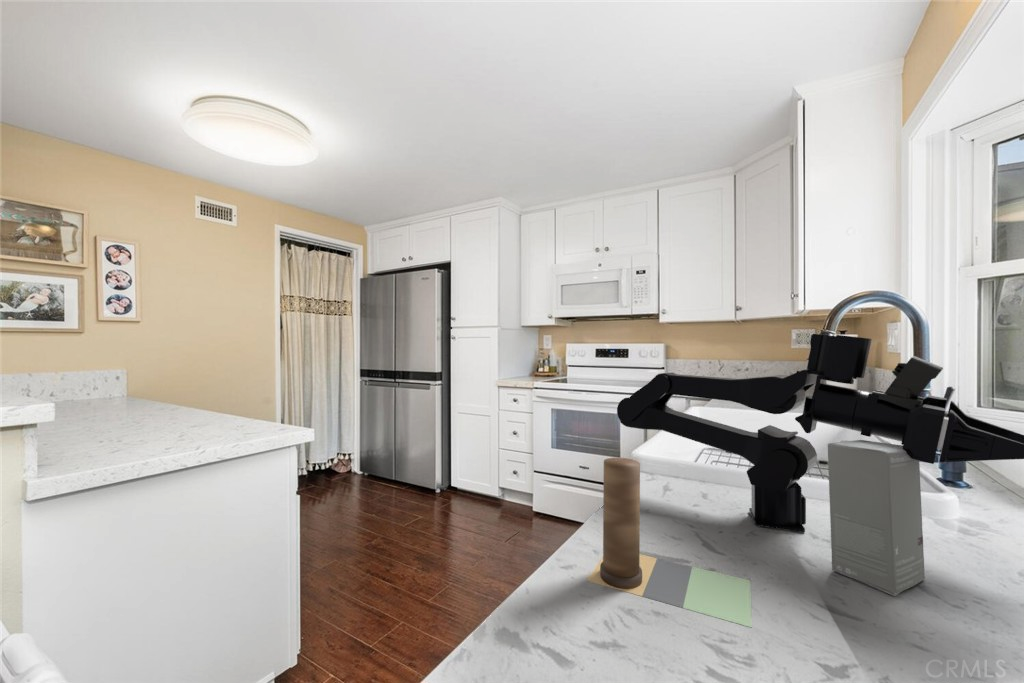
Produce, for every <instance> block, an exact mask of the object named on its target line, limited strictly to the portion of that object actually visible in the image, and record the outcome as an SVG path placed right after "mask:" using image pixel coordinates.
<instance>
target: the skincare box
mask: <svg viewBox="0 0 1024 683" xmlns="http://www.w3.org/2000/svg"><path fill="white" fill-rule="evenodd" d="M827 464H828V488H829V492H828V493H829V519H830V545H831V546H830V548H831V549H830V550H831V569H832V571H834V572H837V573H838V574H841V575H842V576H846V577H848V578H851V579H854V580H856V581H859V582H862V583H863V584H866V585H868V586H871V587H873V588H875V589H877V590H879V591H882V592H884V593H885V594H888V595H890V596H893V597H897V596H898V595H899V594H900V593H902V592H904V591H906V590H907V589H911V588H912V587H914V586H916V585H917V584H919V583H921V582H922V581H923V580H925V578H926V577H925V575H926V574H925V557H924V534H923V533H924V531H923V514H922V512H923V511H922V509H923V508H922V495H921V494H922V492H921V491H922V490H921V473H920V472H921V468H920V467H921V466H920V461H919V460H915V459H911V457H910V456H909V455H908V454H907V452H906V451H905V450H903V445H902V444H892V443H886V442H878V441H871V440H863V439H857V440H840V441H838V442H837V441H836V442H828V444H827Z"/></svg>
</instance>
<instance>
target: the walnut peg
mask: <svg viewBox="0 0 1024 683" xmlns="http://www.w3.org/2000/svg"><path fill="white" fill-rule="evenodd" d="M602 499H603V500H602V501H603V504H602V505H603V506H602V507H603V514H602V515H603V521H602V523H603V524H602V525H603V527H602V528H603V529H602V530H603V532H602V533H603V534H602V536H603V537H602V542H603V543H602V557H603V562H602V563H601V565H600V576H601V579H602V580H603V581H604V582H605V583H607V584H608V585H610V586H613V587H616V588H621V589H633V588H636V587H638V586H640V585H641V583H642V569H641V567H640V566H639V560H640V554H641V552H640V547H641V546H640V541H641V539H640V535H641V534H640V529H641V528H640V526H641V523H640V522H641V521H640V520H641V519H640V518H641V514H640V512H641V511H640V510H641V501H640V500H641V463H640V462H639V461H637V460H636V459H635V460H634V459H631V458H625V457H609V458H606V459H604V460H603V498H602Z"/></svg>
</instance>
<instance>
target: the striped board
mask: <svg viewBox="0 0 1024 683" xmlns="http://www.w3.org/2000/svg"><path fill="white" fill-rule="evenodd" d="M602 562H603V556H602V557H601V559H600V560H599V561H598V563H597V565H596V566H595V568H594V569H593V571H592V572H591V573H590V575H589V577H588V578H587V579H586V580H587V582H590V583H592V584H593V583H594V584H597V585H600V586H604V587H608V588H611V589H615V590H618V591H621V592H625V593H629V594H632V595H636V596H639V597H642V598H647V599H650V600H653V601H657V602H660V603H664V604H666V605H670V606H674V607H678V608H681V609H685V610H688V611H691V612H696V613H697V614H702V615H706V616H709V617H712V618H715V619H719V620H722V621H726V622H730V623H734V624H737V625H740V626H744V627H747V628H750V629H751V628H752V625H753V624H752V597H751V596H752V595H751V580H749V579H745V578H740V577H736V576H732V575H727V574H725V573H720V572H717V571H712V570H707V569H702V568H699V567H694V566H692V565H691V566H690V565H686V564H682V563H679V562H674V561H670V560H665V559H661V558H657V557H653V556H649V555H645V554H641V553H640V560H639V566H640V567H641V569H642V583H641V585H640V586H638V587H636V588H633V589H621V588H616V587H613V586H610V585H608V584H607V583H605V582H604V581H603V580H602V579H601V576H600V565H601V563H602Z"/></svg>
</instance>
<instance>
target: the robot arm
mask: <svg viewBox="0 0 1024 683" xmlns="http://www.w3.org/2000/svg"><path fill="white" fill-rule="evenodd" d="M872 341H873V339H872V338H869V337H868V338H866V337H858V336H849V335H842V334H841V335H840V334H836V335H827V334H819V333H812V334H811V336H810V341H809V344H810V351H809V357H808V360H807V367H806V369H798V370H796V372H795V373H792V374H790V375H787V374H783V375H780V374H779V375H769V376H767V375H766V376H757V377H746V378H733V377H732V378H731V377H730V378H729V377H721V376H720V377H718V376H717V377H716V376H706V375H705V376H704V375H694V374H693V375H691V374H680V373H675V372H662V373H658V374H656V375H655V376H654V377H653V378H652V379H651V380H650V381H648V382H647V383H646V384H645V385H643V386H642V387H641V388H639V389H638V390H636V391H635V392H634V393H633V394H631V395H630V397H625V398H622V399H621V400H620V401H619V403H618V405H617V408H616V414H617V418H618V419H619V422H620V424H621V425H623V426H624V427H627V428H631V429H638V430H651V431H663V432H666V433H669V434H673V435H675V436H677V437H682V438H685V439H687V440H690V441H694V442H698V443H700V444H702V445H703V444H704V445H706V446H709V447H712V448H715V449H718V450H721V451H725V452H728V453H731V454H734V455H736V456H740V457H742V458H743V459H745V460H746V461H748V462H749V463H751V464H752V465H753V466H752V467H750V468H748V469H747V470H746V475H747V478H748V480H749V483H750V485H751V507H750V508H749V510H748V512H749V514H750V516H751V519H752V521H753V523H754V525H755V526H757V527H764V528H770V529H778V530H785V531H792V532H796V533H797V532H798V533H805V532H806V528H805V527H804V526H803V525H806V523H807V516H806V514H807V512H806V511H807V504H806V503H807V502H806V501H807V499H806V497H805V496H804V495H803V493H802V486H801V485H800V484H799V483H798V481H800V479H801V478H802V477H804V476H805V475H806V474H807V473H809V472H810V470H812V469H813V468H814V467H815V466H816V463H817V461H818V453H817V451H816V448H815V447H814V446H813V445H812V443H811V442H810V441H809V440H808V439H806V438H804V437H802V436H798V434H799V432H798V431H787V430H783V429H781V428H780V427H779V428H778V427H776V426H774V425H771V424H769V425H766V426H764V427H761V428H759V429H757V432H756V431H754V432H753V431H749V430H745V429H741V428H737V427H736V426H735V427H734V426H730V425H727V424H725V423H724V424H723V423H721V422H717V421H713V420H709V419H707V418H702V417H699V416H697V415H696V416H695V415H692V414H689V413H685V412H682V411H679V410H678V411H677V410H675V409H672V408H670V407H669V406H668V405H667V404H668V403H669V402H670V400H671V399H672V397H673V396H682V397H684V396H685V397H689V398H690V397H692V398H700V399H710V400H719V401H725V402H726V401H728V402H732V403H736V404H740V405H742V406H745V407H746V408H750V409H754V410H756V411H760V412H764V413H766V414H767V413H768V414H770V415H771V414H772V415H782V414H786V413H789V412H791V411H793V410H795V409H798V408H799V407H801V406H802V404H803V403H804V404H803V405H804V406H803V408H802V409H803V411H802V414H800V415H798V416H795V418H794V420H795V421H796V422H797V423H799V425H800V426H801V428H802V429H803V431H804V432H805V433H806V434H810V433H812V432H813V431H815V430H816V428H817V423H822V424H826V425H829V426H834V427H839V428H843V429H848V430H850V431H851V430H852V431H856V432H859V433H860V436H864V437H869V438H870V437H872V436H876V437H880V438H884V439H888V440H894V441H897V442H900V445H903V450H905V451H906V452H907V454H908V455H909V456H910V457H911V459H915V460H919V462H923V463H928V464H932V465H935V464H934V463H935V459H936V455H937V450H939V451H940V454H939V460H938V462H939V464H946V463H957V462H975V461H976V462H978V461H979V462H980V461H981V462H982V461H984V462H985V461H1006V460H1007V461H1008V460H1024V434H1022V433H1019V432H1016V431H1013V430H1010V429H1008V428H1005V427H1002V426H999V425H995V424H994V423H990V422H987V421H983V420H981V419H978V418H975V417H972V416H970V415H968V414H966V413H965V412H964V411H963V410H962V409H961V408H960V407H959V406H958V405H957V404H956V403H955V402H954V401H953V400H950V403H949V405H948V406H949V407H948V410H946V404H947V401H948V399H947V397H940V396H935V395H927V396H924V397H922V396H920V395H921V393H922V392H923V391H924V390H925V388H926V387H927V386H928V385H929V383H930V382H931V381H932V380H934V379H936V378H937V377H938V376H939V374H940V373H941V372H942V371H943V369H944V367H942V366H940V365H937V364H935V363H933V362H930V361H928V360H925V359H923V358H920V357H919V356H916V355H913V356H911V357H910V359H909V360H908V361H907V362H898V363H897V364H896V366H895V368H894V369H893V370H892V371H891V373H892V374H893V375H894V376H895V378H894V379H893V381H892V382H891V383H890V385H889V386H888V388H887V389H886V390H882V389H875V390H873V391H867V390H862V389H861V390H860V389H856V388H855V389H854V388H851V387H850V388H849V387H845V386H839V385H835V384H834V385H833V384H827V383H825V381H829V382H835V383H839V384H846V385H848V384H849V385H854V382H855V380H857V378H858V379H865V375H866V370H867V367H868V366H867V365H868V359H869V355H870V350H871V344H872ZM813 386H814V389H813V393H812V395H806V392H807V391H809V390H810V389H811V388H812V387H813Z"/></svg>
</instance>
